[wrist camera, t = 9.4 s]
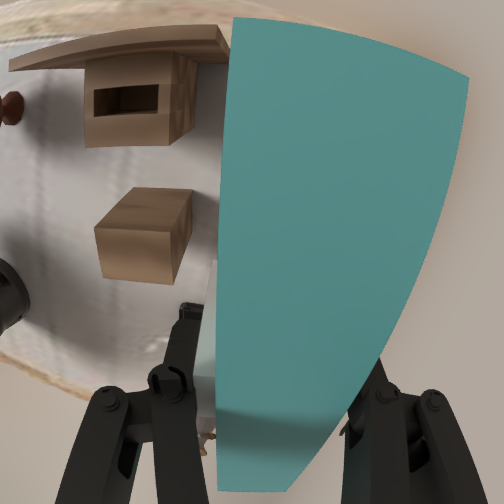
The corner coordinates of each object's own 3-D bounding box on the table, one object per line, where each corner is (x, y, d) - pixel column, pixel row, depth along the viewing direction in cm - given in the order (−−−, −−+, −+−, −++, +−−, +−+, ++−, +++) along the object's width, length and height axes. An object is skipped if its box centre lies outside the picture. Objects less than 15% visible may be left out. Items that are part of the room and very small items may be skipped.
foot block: (192, 231, 41) (173, 285, 30) (136, 228, 40) (103, 278, 30) (192, 189, 38) (170, 232, 27) (133, 187, 37) (93, 227, 27)
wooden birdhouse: (227, 128, 34) (206, 165, 18) (103, 129, 33) (13, 169, 17) (233, 56, 29) (217, 24, 14) (105, 62, 28) (9, 59, 13)
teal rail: (280, 380, 21) (289, 491, 14) (220, 377, 21) (213, 490, 13) (341, 79, 11) (478, 82, 3) (238, 65, 11) (215, 17, 3)
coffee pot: (211, 418, 66) (207, 471, 54) (166, 406, 64) (157, 459, 51) (249, 376, 57) (249, 443, 44) (194, 360, 54) (183, 428, 41)
